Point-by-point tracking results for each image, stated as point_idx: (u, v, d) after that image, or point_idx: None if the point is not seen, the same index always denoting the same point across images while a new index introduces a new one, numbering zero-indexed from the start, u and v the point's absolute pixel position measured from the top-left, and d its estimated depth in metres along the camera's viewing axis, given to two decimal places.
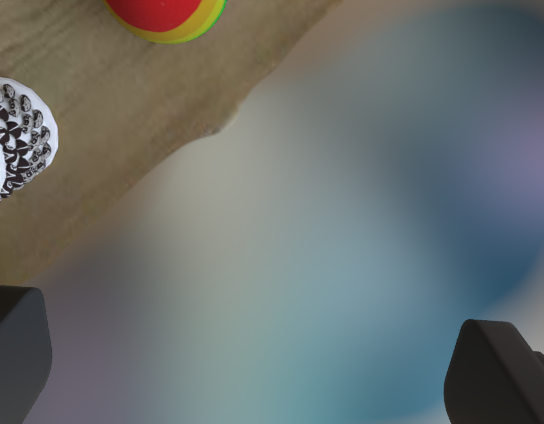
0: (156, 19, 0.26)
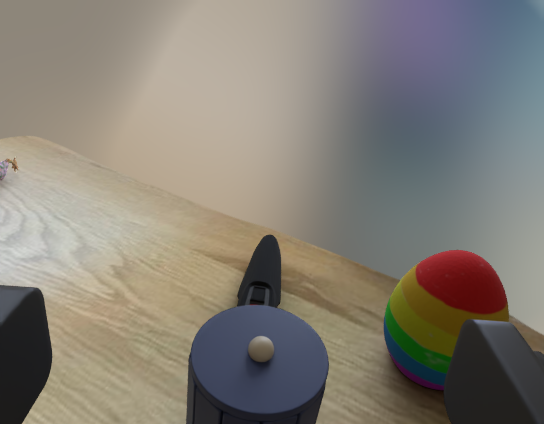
0: None
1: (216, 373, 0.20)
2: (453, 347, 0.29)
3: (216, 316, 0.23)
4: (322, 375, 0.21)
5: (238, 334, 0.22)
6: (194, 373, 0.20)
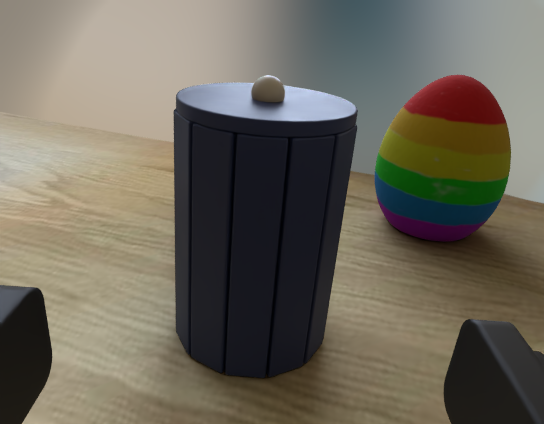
0: None
1: (217, 105, 0.15)
2: (463, 167, 0.26)
3: (200, 85, 0.18)
4: (352, 108, 0.16)
5: (233, 92, 0.17)
6: (187, 106, 0.15)
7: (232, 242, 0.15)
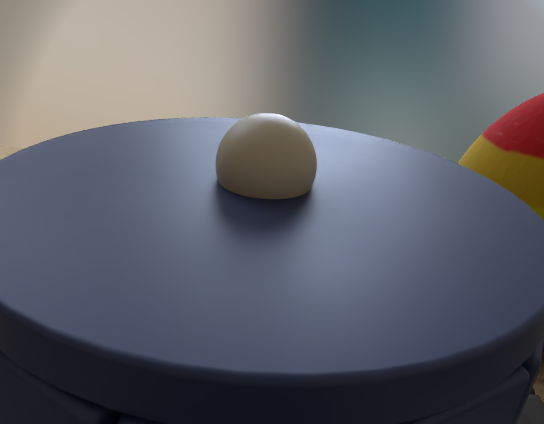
0: None
1: (74, 237, 0.04)
2: None
3: (93, 130, 0.07)
4: (524, 213, 0.05)
5: (172, 153, 0.06)
6: None
7: None
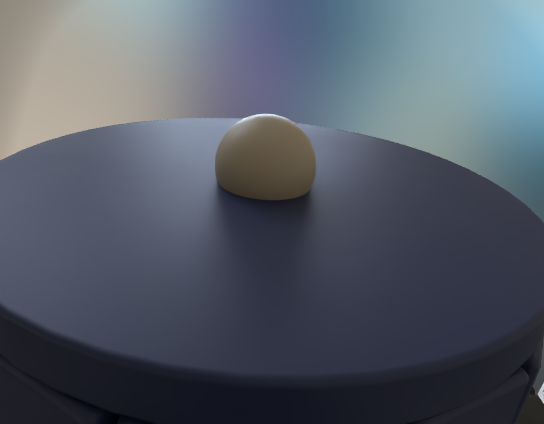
0: None
1: (73, 239, 0.04)
2: None
3: (92, 131, 0.07)
4: (523, 214, 0.05)
5: (171, 154, 0.06)
6: None
7: None
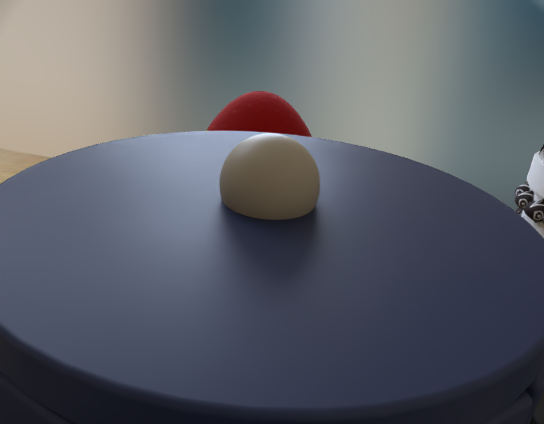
0: None
1: (81, 264, 0.04)
2: None
3: (96, 146, 0.07)
4: (525, 232, 0.05)
5: (176, 170, 0.06)
6: None
7: None
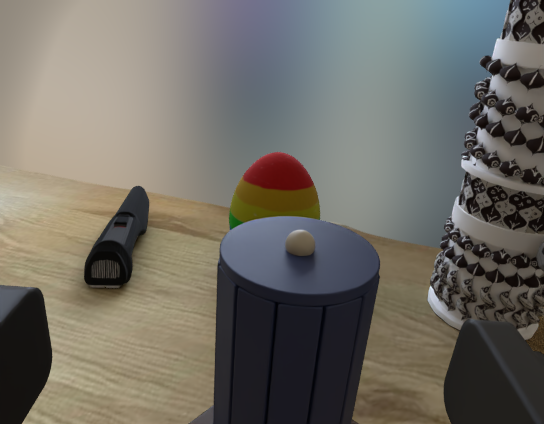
0: None
1: (258, 268, 0.17)
2: None
3: (237, 227, 0.20)
4: (374, 259, 0.18)
5: (268, 238, 0.19)
6: (233, 272, 0.17)
7: (271, 385, 0.17)
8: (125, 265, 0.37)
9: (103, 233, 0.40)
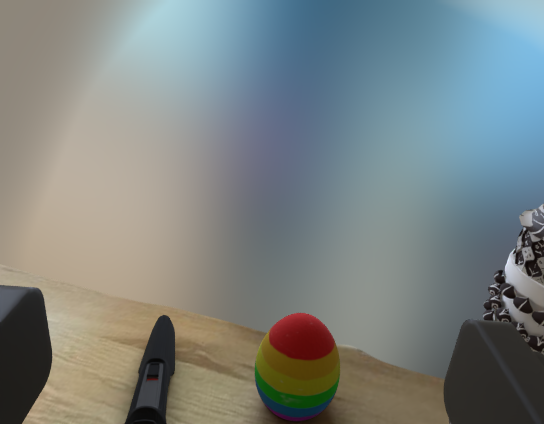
0: None
1: None
2: (297, 388, 0.40)
3: None
4: None
5: None
6: None
7: None
8: None
9: (137, 389, 0.42)
